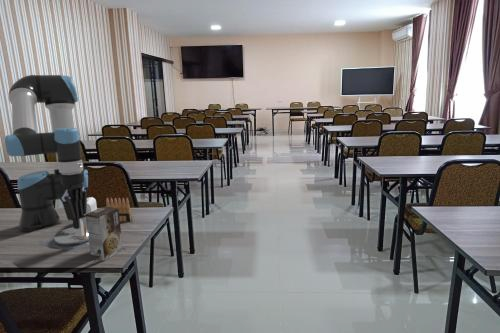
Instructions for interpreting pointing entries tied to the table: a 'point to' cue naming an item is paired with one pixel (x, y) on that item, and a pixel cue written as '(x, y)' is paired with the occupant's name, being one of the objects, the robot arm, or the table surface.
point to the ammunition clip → (121, 208)
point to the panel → (71, 248)
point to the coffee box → (104, 232)
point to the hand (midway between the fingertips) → (79, 235)
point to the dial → (70, 237)
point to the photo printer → (90, 208)
